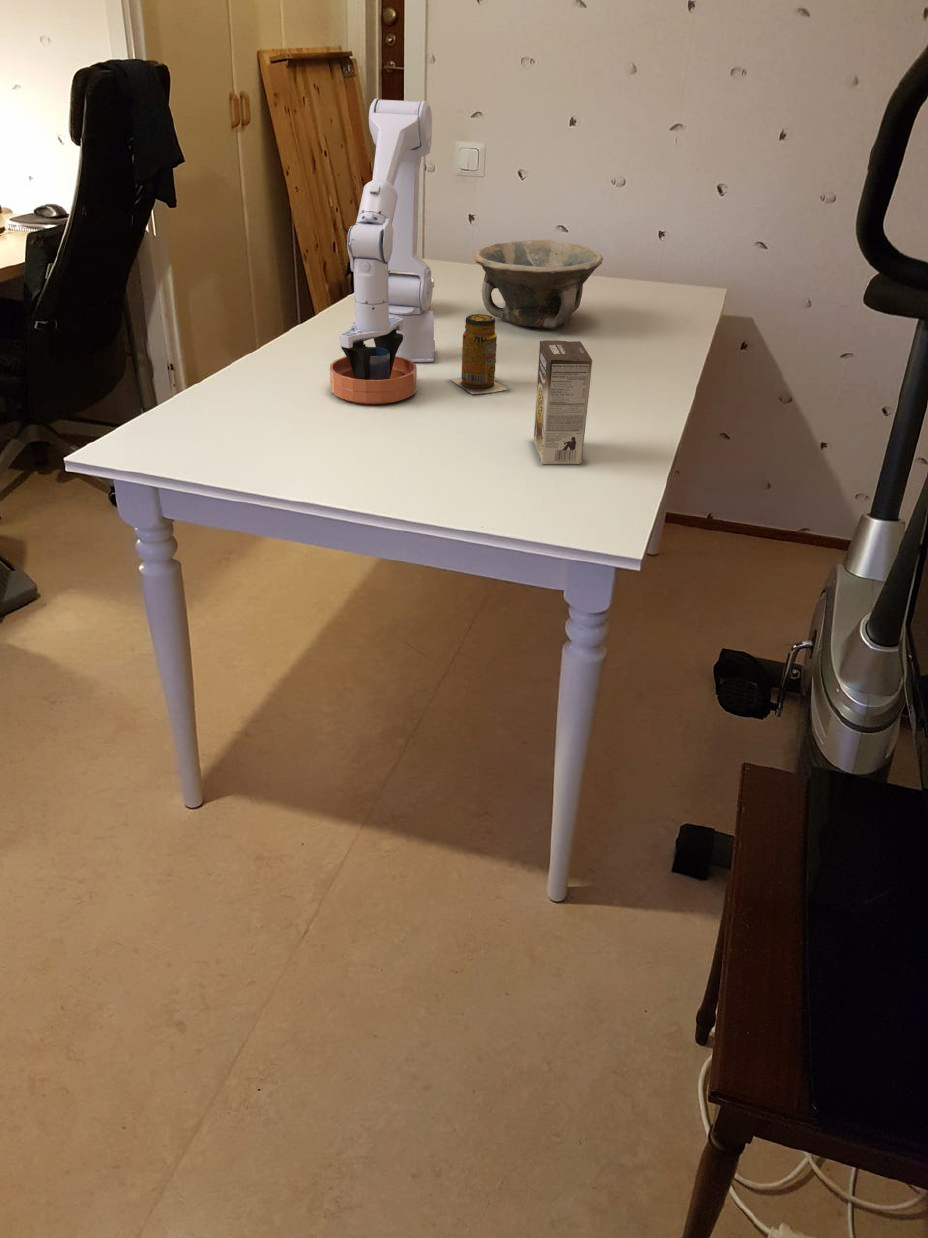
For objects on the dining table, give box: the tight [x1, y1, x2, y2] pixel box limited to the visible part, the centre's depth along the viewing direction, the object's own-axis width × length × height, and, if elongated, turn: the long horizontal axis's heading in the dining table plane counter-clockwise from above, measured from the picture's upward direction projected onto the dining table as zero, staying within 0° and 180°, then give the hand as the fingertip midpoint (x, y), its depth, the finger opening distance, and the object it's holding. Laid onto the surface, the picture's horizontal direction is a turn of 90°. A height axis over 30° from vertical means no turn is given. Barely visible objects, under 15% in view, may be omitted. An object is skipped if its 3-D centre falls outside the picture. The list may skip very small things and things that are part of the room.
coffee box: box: [533, 339, 593, 465], centre depth 141 cm, size 9×6×16 cm
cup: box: [368, 346, 390, 380], centre depth 164 cm, size 6×6×6 cm
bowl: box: [474, 239, 604, 330], centre depth 202 cm, size 27×26×15 cm
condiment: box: [451, 313, 509, 395], centre depth 167 cm, size 7×8×12 cm
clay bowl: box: [329, 355, 418, 405], centre depth 165 cm, size 15×15×4 cm
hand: (373, 379), depth 165 cm, fingers closed on cup, 6 cm apart
